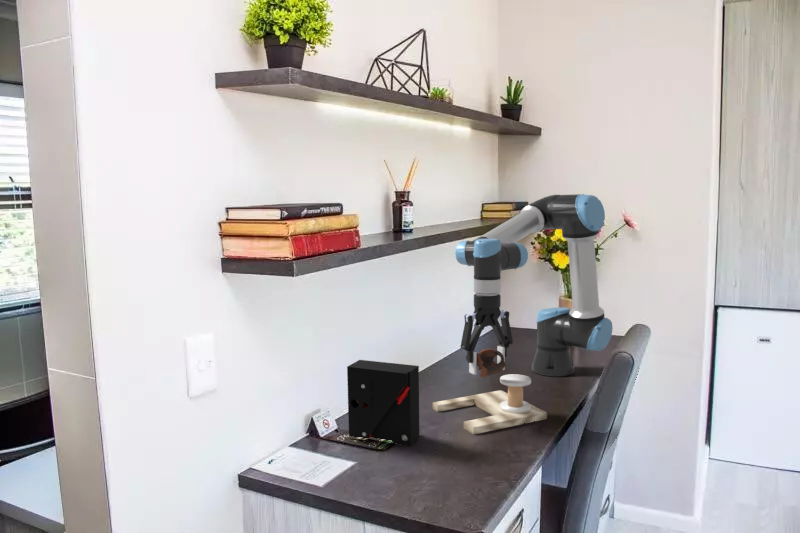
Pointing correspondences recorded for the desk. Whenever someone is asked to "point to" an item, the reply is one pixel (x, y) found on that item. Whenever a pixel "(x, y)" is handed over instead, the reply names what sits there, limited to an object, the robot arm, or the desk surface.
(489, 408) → the notched board
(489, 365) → the pottery mug
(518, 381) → the spool
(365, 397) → the electrical component
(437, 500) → the desk surface
